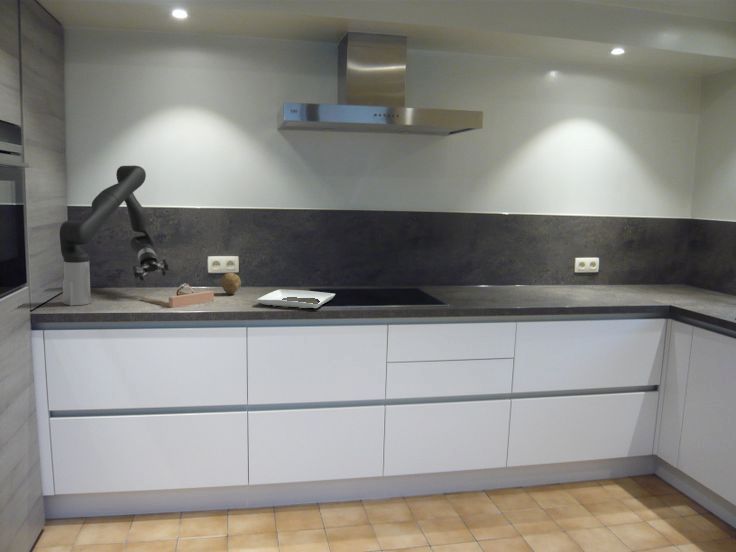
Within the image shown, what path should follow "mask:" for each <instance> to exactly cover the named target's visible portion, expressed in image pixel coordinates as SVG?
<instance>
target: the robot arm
mask: <svg viewBox="0 0 736 552" xmlns="http://www.w3.org/2000/svg"><path fill="white" fill-rule="evenodd" d="M115 174H116V180H117V183H115V184H112V185H110V186H108V187H107V188H104V189H103V190H102V191H100V192H99V194H97V195H96V197H95V198H94V199H93V200H92V202H91V213H90V214H89V215H88V216H87V217H86V218H85V219H83V220H82V221H78V220H77V221H76V220H66V221H63V222H62V223H61V225H60V227H59V242H60V252H61V253H60V254H61V256H62V258H63V274H64V277H63V280H62V303H63V304H64V305H67V306H71V307H72V306H84V305H89V304H91V301H92V299H91V274H90V256H89V253H87V252H85V251H84V250H82V249H81V248H80V245H81V246H83V245H87V244H88V243H90V242H91V241H92V240H93V239H94V237H95V236H96V235H97V233H98V232H99V230H100V229H101V227H102V226H103V225H104V224H105V223H106V221H108V219H109V218H110V217H111V216H112V215H113V214H114V213H115V212H116V211H117V209H119V207H120V206H121V205H122V203H125V206H126V208H127V212H128V215H129V221H130V227H131V230H132V231H133V232H136V233H143V234H144V235H139V236H138V235H137V236H134V237H132V238H131V239H130V242H129V243H130V248H131V249H132V251H133V252H134V254H137V259H138V263H139V267H136V265H134V266H133V267H132V269H133V275H134V278H135V279H137V278H138V277H139V280H140V281H142V282H144V281H145V280H144V276H146V275H147V274H148V273H151V272H157V273H160V272H161V274H162V276H163V277H164V276H165V275H166V271H169V264H168V263H167V261H166V258H165V259H162V260H161V261H158V258H157V255H156V253H155V250H154V248H155V246H156V242H155V239H154V237H153V235H152V233H151V231H150V229H149V226H148V220H147V216H146V215H147V214H146V211H145V210H144V207H143V206H142V204H141V203H140V201H139V200H138V199H137V197H136V195H135V194H134V193H135V191H136V190H138V189H139V188H140V187H141V186H142V185H143V184H144V183H145V181H146V177H147V176H146V175H147V174H146V170H145V169H144V168H143V167H142V166H139V165H120V166H119V167H118V168H117V170H116V173H115Z"/></svg>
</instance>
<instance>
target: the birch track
mask: <svg viewBox="0 0 736 552" xmlns="http://www.w3.org/2000/svg"><path fill="white" fill-rule="evenodd" d="M186 294H192V292H189V291H184V290H179V292H178V295H186ZM140 300H141V301H143V302H147V303H152V304H157V305H160V306H163V307H169V301H166V300H162V299H158V298H153V297H149V296H145V295H142V296H140ZM169 308H170V307H169Z"/></svg>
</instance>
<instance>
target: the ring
mask: <svg viewBox="0 0 736 552" xmlns="http://www.w3.org/2000/svg"><path fill="white" fill-rule="evenodd" d="M184 288H188V289H189V290H190V291H191V293H192V294H193V293H195V291H194V288H193V287H191V285H189V283H182V284H180V286H179V287H178V288H177V290H176V296H179V291H181V289H184Z"/></svg>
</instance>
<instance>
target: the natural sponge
mask: <svg viewBox="0 0 736 552" xmlns="http://www.w3.org/2000/svg"><path fill="white" fill-rule="evenodd" d="M220 284H221V287H222V290H223V291H224V292H225V293H226V294H227V295H229V296H230V295H233V294H235V293H236V292H237V291H238V290H239V289H240V288H241V286H242V281H241V277H240V276H238V275H237V274H236V273H234V272H227V273H225V274H224V275H223V276H222V277H221V278H220Z"/></svg>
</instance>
